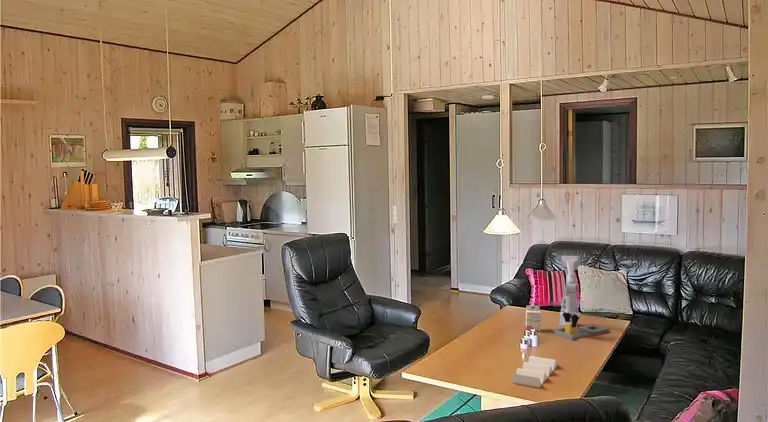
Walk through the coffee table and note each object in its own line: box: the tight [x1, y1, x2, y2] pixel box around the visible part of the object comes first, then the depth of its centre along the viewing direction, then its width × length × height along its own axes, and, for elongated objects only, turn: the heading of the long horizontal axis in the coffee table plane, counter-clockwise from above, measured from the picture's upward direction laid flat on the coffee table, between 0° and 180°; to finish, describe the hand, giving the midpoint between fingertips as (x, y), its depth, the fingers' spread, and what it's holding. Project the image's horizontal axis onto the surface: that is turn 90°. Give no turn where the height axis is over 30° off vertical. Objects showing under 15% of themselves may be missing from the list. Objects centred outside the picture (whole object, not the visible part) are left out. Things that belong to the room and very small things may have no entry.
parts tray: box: [554, 327, 588, 341], centre depth 355 cm, size 14×12×3 cm
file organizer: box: [510, 355, 559, 388], centre depth 293 cm, size 13×35×5 cm, turn 150°
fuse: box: [564, 321, 578, 335], centre depth 355 cm, size 4×6×7 cm
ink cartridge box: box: [525, 305, 542, 332], centre depth 367 cm, size 9×5×15 cm, turn 84°
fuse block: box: [577, 323, 610, 336], centre depth 361 cm, size 12×14×3 cm
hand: (570, 326), depth 355 cm, fingers open, 4 cm apart
